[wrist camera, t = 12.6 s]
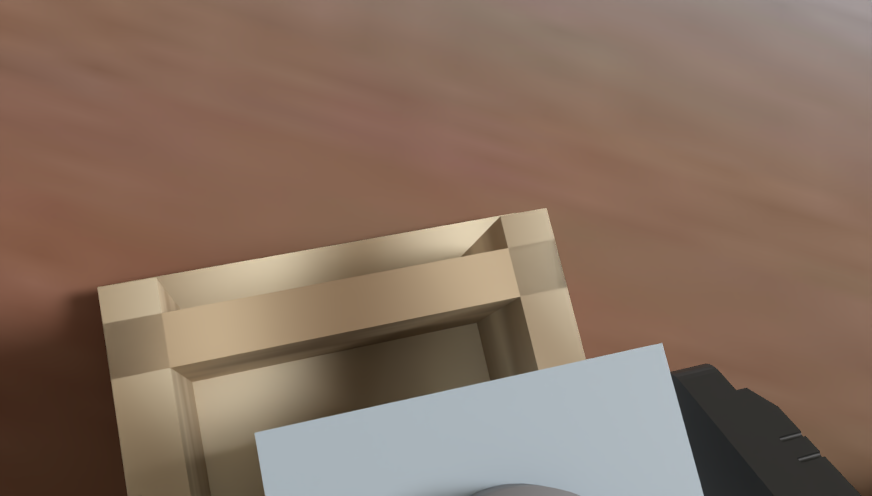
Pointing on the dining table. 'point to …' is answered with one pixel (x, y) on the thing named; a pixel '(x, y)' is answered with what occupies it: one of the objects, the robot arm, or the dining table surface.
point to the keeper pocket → (323, 341)
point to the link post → (501, 439)
